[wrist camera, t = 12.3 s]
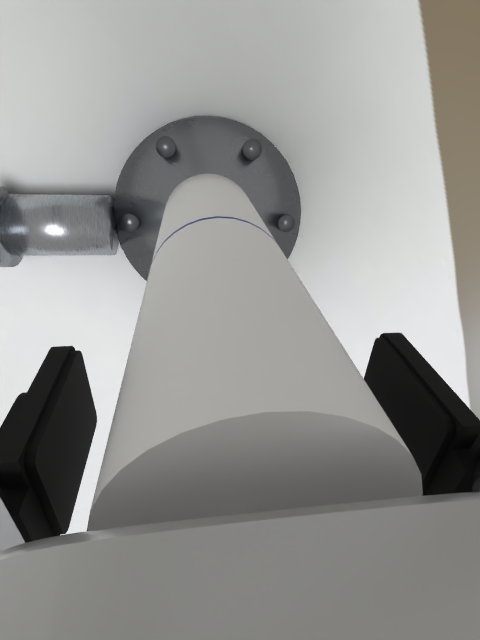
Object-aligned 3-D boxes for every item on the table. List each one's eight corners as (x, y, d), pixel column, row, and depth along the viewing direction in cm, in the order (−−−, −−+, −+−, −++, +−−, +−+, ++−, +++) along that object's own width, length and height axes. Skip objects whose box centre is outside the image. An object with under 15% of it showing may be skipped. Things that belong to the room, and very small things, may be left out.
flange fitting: (307, 119, 27) (332, 122, 23) (287, 296, 35) (303, 326, 30) (-23, 107, 25) (-74, 106, 20) (33, 302, 32) (6, 336, 27)
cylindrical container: (205, 152, 27) (269, 337, 5) (270, 218, 30) (478, 505, 8) (145, 223, 29) (14, 564, 7) (212, 278, 32) (257, 631, 10)
